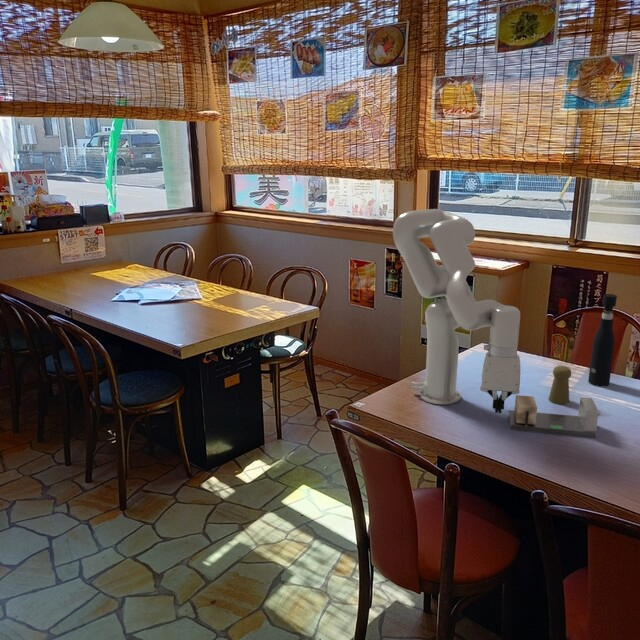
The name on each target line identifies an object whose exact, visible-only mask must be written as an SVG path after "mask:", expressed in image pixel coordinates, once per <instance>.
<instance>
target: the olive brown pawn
mask: <svg viewBox="0 0 640 640" xmlns="http://www.w3.org/2000/svg"><path fill="white" fill-rule="evenodd" d="M552 375H553V382H552V385H551V388H550V392H549V395H548V402H550V403H552V404H556V405H561V406H562V405H563V406H565V405H568V404H569V403H570V385H569V383H570V382H569V381H570V380H569V379H570V378H571V377H572V370H571V369H570V367H567V366H565V365H558V366H555V367H554V368H553V371H552Z"/></svg>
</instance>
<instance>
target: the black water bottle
mask: <svg viewBox="0 0 640 640" xmlns="http://www.w3.org/2000/svg"><path fill="white" fill-rule="evenodd" d="M617 299H618V295H616V294H611V293H606V294H603V298H602V306H603V307H604V308H603V312H602V313H601V317H600V320H599V321H600V322H599V327H598V328H597V331H596V332H595V335H594V338H593V340H592V349H591V357H590V364H589V372H588V381H587V382H588V384H590V385H592V386H595V387H600V386H603V388H604V386H605V387H608V386H610V381H611V376H612V375H611V373H612V367H613V360H614V351H615V346H616V345H615V344H616V337H615V334H614V333H615V332H614V328H613V327H614V313H613V312H614V310H613V309H614V307H616V306H617V305H616V304H617Z"/></svg>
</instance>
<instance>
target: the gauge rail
mask: <svg viewBox="0 0 640 640" xmlns="http://www.w3.org/2000/svg"><path fill="white" fill-rule="evenodd" d="M578 406H579V408H578V415H569V414H559V413H558V414H557V413H545V412H537V415H536V425H534V424H528V425H525V424H523V423H517V422H516V417H515V412H514V410H510V409H509V410H508V415H507V417H508V421H509V429H510V431H519V432H530V433H539V434H540V433H541V434H549V435H550V434H553V435H561V436H564V435H565V436H572V435H573V436H575V437H583V438H596V437H597V426H598V419H599V409H598V408H597V406H596V404H595V402H594V400H593V398H592V397H580V399H579V405H578Z"/></svg>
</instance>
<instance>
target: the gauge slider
mask: <svg viewBox="0 0 640 640" xmlns="http://www.w3.org/2000/svg"><path fill="white" fill-rule="evenodd" d="M514 402H515V403H514V410H513V411H514V412H515V417H516V422H517V423H523V424H525V425H528V424H534V425H536V415H537V413H538V406H537V403H536V400H535V396H532V395H531V396H529V395H518V394H515V401H514Z"/></svg>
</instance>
